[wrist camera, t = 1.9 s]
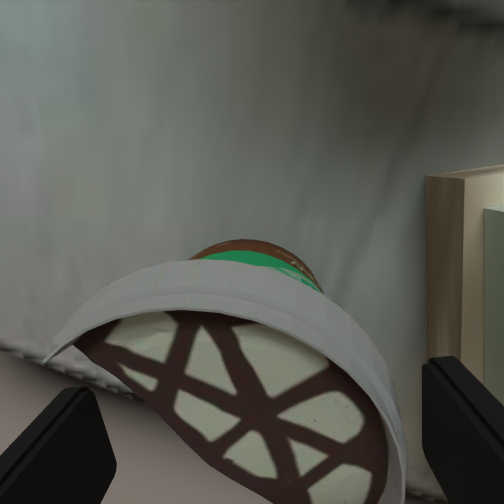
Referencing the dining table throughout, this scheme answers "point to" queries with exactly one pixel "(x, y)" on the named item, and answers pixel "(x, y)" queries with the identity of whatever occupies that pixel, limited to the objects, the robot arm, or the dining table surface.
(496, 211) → the upper slab
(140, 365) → the food container
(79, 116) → the dining table surface
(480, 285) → the lower slab
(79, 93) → the dining table surface
